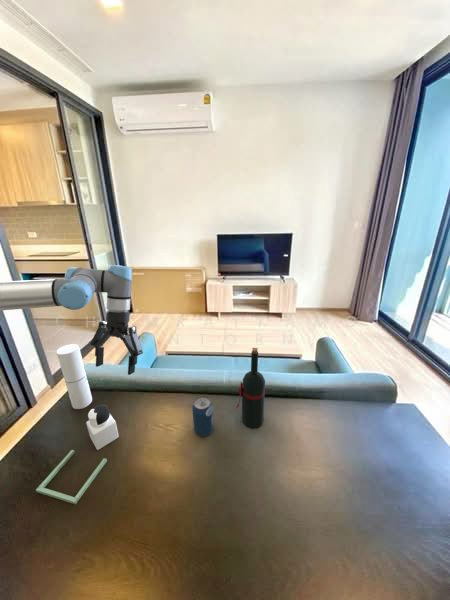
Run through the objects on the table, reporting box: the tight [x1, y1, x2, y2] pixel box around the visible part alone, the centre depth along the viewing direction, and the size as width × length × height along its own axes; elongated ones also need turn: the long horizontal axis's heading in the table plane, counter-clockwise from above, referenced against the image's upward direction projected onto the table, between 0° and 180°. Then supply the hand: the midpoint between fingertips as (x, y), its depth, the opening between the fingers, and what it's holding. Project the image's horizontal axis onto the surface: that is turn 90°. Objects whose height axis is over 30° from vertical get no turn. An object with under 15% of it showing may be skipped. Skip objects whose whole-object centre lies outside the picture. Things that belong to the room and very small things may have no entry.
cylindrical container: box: [56, 343, 93, 410], centre depth 96 cm, size 7×7×25 cm
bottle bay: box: [35, 449, 108, 505], centre depth 73 cm, size 13×12×1 cm
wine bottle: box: [235, 347, 266, 430], centre depth 86 cm, size 8×10×30 cm
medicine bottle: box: [85, 404, 120, 451], centre depth 83 cm, size 7×7×12 cm
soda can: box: [191, 396, 214, 437], centre depth 86 cm, size 7×7×12 cm
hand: (115, 369), depth 88 cm, fingers open, 13 cm apart
